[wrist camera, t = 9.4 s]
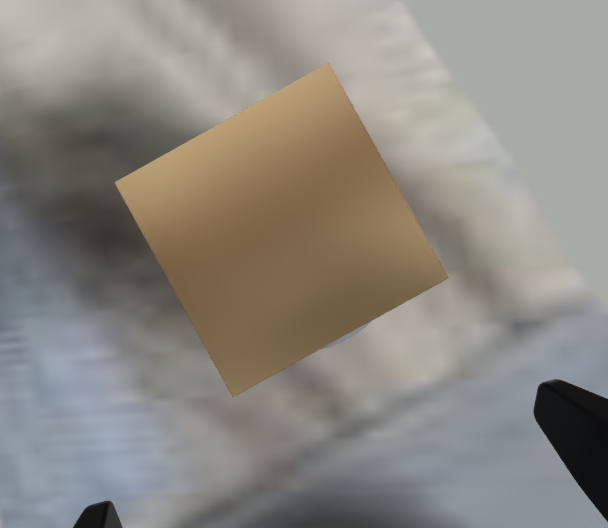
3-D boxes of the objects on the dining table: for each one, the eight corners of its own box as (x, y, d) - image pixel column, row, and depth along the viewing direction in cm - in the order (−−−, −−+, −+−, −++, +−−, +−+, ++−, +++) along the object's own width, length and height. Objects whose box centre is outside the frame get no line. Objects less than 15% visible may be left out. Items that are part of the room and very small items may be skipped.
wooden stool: (380, 272, 22) (448, 278, 11) (270, 333, 22) (232, 397, 11) (319, 161, 22) (328, 62, 11) (209, 223, 22) (114, 182, 11)
